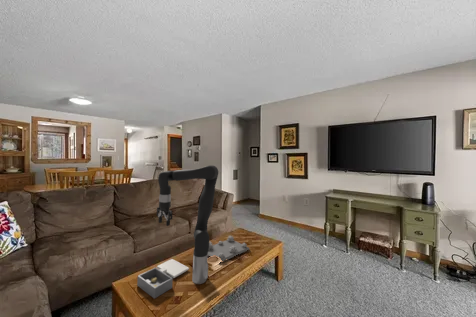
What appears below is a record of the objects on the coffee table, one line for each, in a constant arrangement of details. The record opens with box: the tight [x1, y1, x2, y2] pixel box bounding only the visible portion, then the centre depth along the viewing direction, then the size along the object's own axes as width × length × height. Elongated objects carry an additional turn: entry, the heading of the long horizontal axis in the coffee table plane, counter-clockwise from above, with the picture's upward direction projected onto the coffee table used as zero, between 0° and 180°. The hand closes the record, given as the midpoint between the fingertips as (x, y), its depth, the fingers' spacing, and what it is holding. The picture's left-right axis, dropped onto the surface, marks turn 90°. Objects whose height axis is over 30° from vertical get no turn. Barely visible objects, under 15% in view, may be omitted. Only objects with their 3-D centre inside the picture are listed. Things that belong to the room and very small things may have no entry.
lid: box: [156, 258, 190, 279], centre depth 141 cm, size 17×19×4 cm
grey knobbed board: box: [208, 235, 250, 262], centre depth 173 cm, size 35×26×10 cm
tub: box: [136, 266, 174, 300], centre depth 124 cm, size 12×18×6 cm, turn 55°
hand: (164, 224), depth 139 cm, fingers open, 8 cm apart
